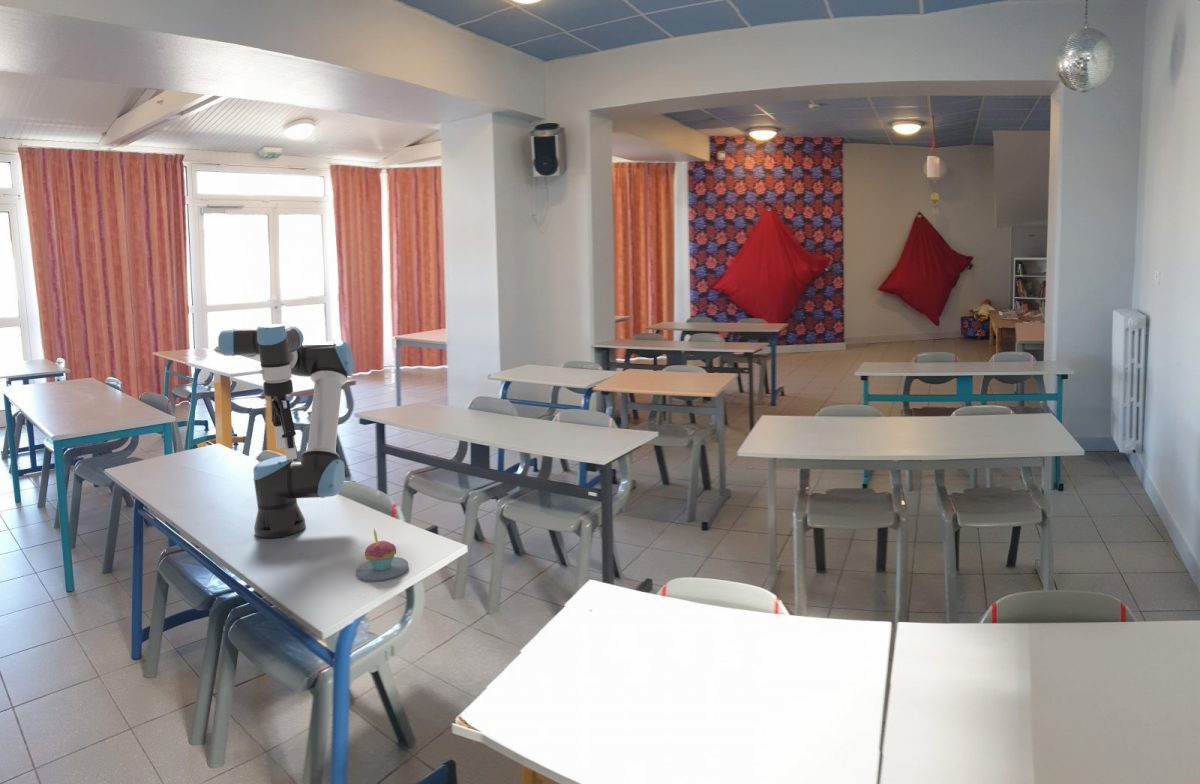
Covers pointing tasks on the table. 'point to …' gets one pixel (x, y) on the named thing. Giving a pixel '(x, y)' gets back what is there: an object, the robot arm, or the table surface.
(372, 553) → the cupcake
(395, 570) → the slate plate
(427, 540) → the table surface
